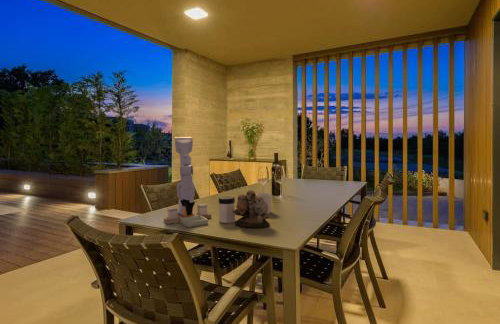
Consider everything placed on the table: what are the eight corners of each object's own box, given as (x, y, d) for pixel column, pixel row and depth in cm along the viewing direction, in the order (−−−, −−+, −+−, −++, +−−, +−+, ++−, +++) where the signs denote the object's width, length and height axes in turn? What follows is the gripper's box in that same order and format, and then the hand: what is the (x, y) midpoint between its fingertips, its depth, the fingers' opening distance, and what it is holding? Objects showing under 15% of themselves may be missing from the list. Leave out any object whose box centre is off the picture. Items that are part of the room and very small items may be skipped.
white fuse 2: (197, 217, 166) (197, 204, 165) (204, 216, 168) (204, 203, 167) (200, 219, 162) (199, 205, 162) (207, 217, 164) (207, 204, 164)
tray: (180, 222, 155) (180, 217, 155) (200, 219, 160) (200, 215, 160) (187, 227, 146) (186, 222, 145) (208, 224, 151) (208, 219, 151)
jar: (215, 221, 155) (214, 198, 155) (224, 218, 162) (223, 195, 162) (230, 223, 151) (229, 199, 150) (238, 220, 158) (238, 196, 157)
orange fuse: (183, 219, 162) (182, 206, 161) (190, 218, 164) (190, 205, 163) (185, 221, 158) (185, 207, 158) (193, 220, 160) (192, 206, 160)
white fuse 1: (167, 221, 158) (167, 208, 157) (175, 220, 160) (175, 207, 159) (170, 223, 154) (169, 209, 154) (177, 222, 156) (177, 208, 156)
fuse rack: (163, 221, 158) (163, 217, 158) (206, 215, 170) (206, 211, 170) (167, 224, 152) (167, 220, 152) (211, 218, 164) (211, 214, 163)
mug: (272, 211, 177) (271, 193, 177) (270, 214, 169) (269, 195, 169) (251, 210, 180) (250, 192, 179) (248, 213, 172) (248, 195, 171)
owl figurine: (229, 228, 144) (228, 191, 143) (236, 222, 155) (235, 188, 154) (267, 229, 140) (266, 192, 139) (271, 223, 151) (271, 188, 150)
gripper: (175, 187, 164) (176, 212, 165) (183, 190, 152) (184, 217, 153) (188, 186, 168) (189, 211, 169) (197, 189, 155) (198, 216, 156)
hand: (187, 214), depth 161 cm, fingers closed on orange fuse, 4 cm apart
